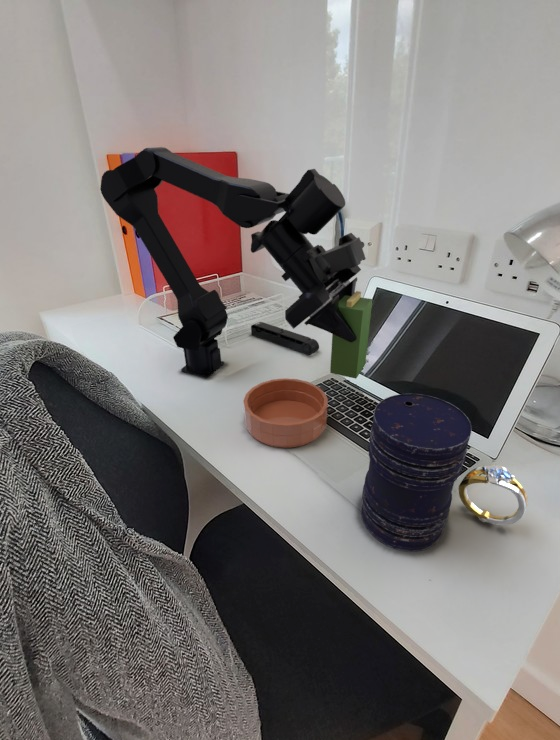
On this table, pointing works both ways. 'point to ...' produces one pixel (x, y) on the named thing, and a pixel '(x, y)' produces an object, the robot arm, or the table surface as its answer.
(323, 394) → the bowl
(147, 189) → the robot arm
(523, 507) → the ring
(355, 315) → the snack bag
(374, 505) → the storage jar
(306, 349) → the tablet stand
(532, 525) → the table surface
